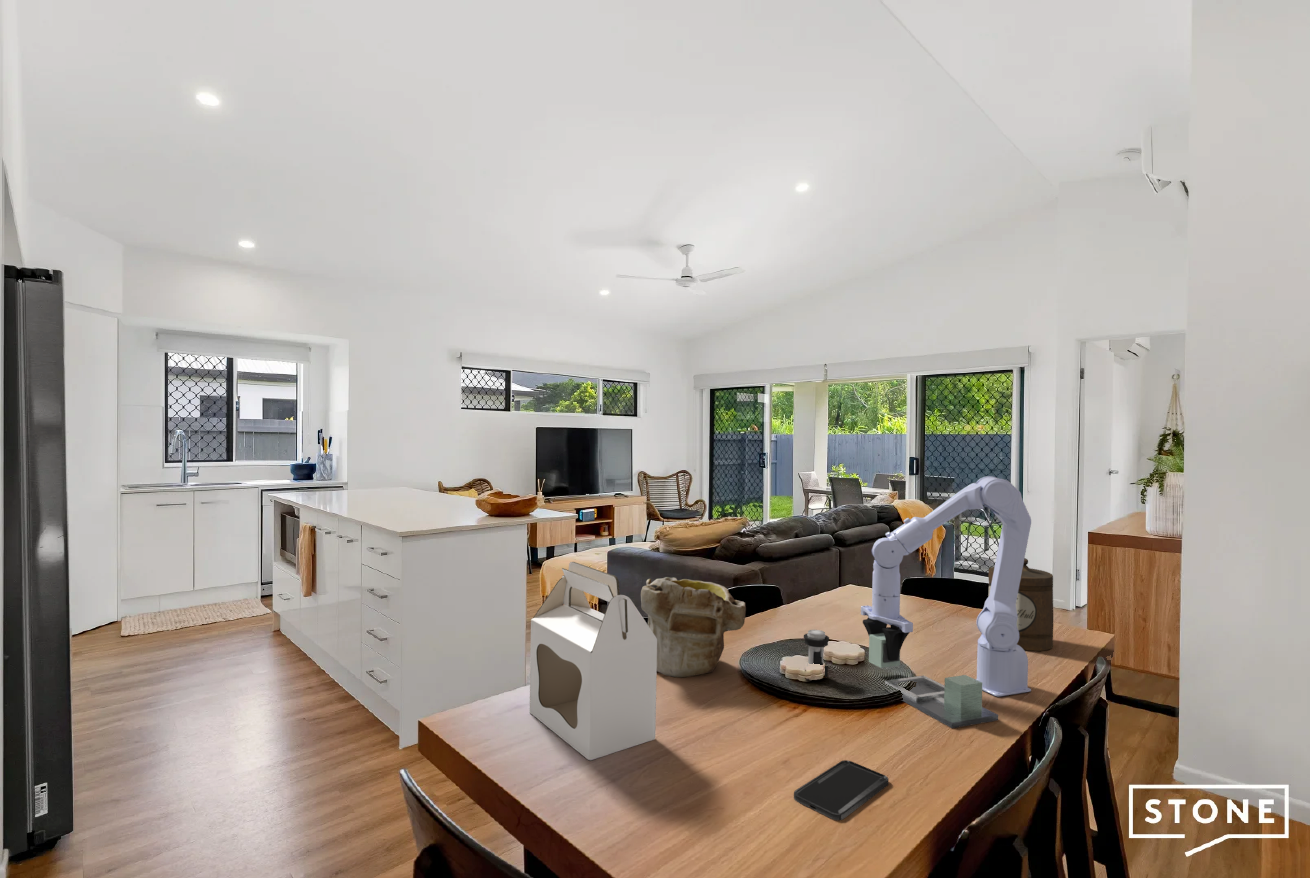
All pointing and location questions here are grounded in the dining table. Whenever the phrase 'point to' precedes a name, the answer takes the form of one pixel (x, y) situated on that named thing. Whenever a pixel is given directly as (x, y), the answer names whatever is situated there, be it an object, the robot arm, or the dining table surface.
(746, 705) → the dining table surface
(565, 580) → the gable box
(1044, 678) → the dining table surface
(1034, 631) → the wooden container
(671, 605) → the ceramic vessel
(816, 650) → the push button
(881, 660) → the block
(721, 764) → the dining table surface
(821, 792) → the phone
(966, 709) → the rail
